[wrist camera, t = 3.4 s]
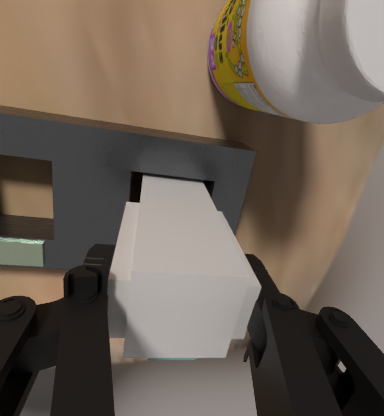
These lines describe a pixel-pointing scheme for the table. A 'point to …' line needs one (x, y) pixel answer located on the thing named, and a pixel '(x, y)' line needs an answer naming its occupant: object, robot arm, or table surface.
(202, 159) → the panel
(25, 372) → the robot arm
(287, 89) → the supplement bottle
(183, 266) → the plug
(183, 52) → the table surface
